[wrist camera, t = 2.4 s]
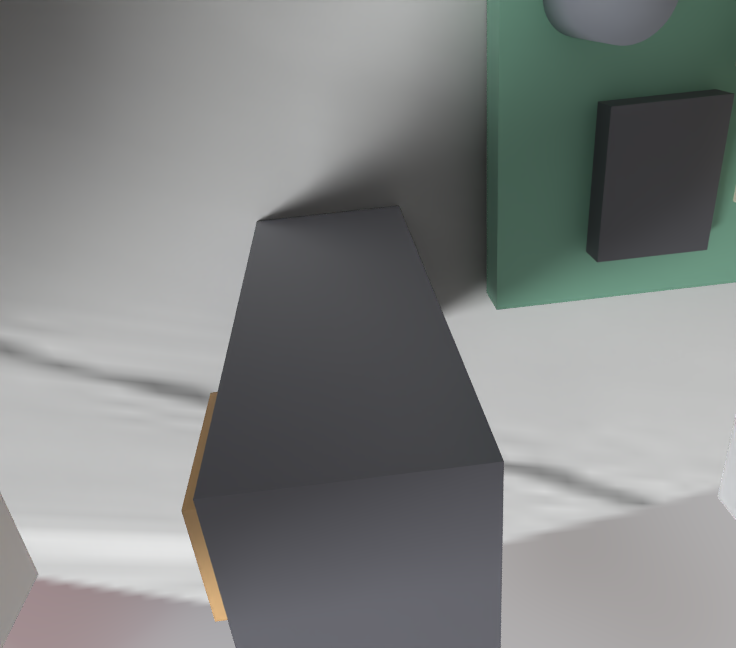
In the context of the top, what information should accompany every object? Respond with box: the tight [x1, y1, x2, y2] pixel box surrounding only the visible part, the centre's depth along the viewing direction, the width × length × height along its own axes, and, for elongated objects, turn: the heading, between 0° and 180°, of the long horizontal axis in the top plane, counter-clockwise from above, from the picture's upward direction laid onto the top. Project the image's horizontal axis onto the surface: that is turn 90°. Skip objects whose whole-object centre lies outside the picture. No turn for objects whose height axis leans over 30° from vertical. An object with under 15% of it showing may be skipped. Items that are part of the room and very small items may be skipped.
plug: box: [182, 206, 504, 648], centre depth 14 cm, size 4×4×11 cm
